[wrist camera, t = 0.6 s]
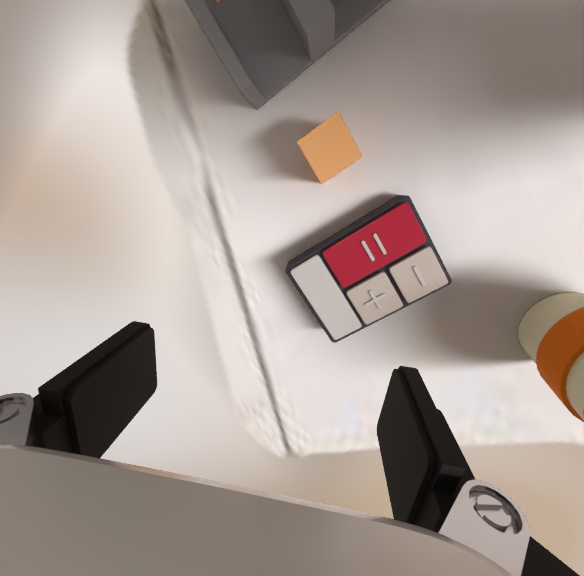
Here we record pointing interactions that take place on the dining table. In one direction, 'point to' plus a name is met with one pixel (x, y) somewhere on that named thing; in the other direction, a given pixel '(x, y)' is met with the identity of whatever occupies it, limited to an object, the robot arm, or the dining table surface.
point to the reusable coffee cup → (558, 346)
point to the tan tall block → (329, 148)
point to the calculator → (369, 269)
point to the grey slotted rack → (275, 37)
